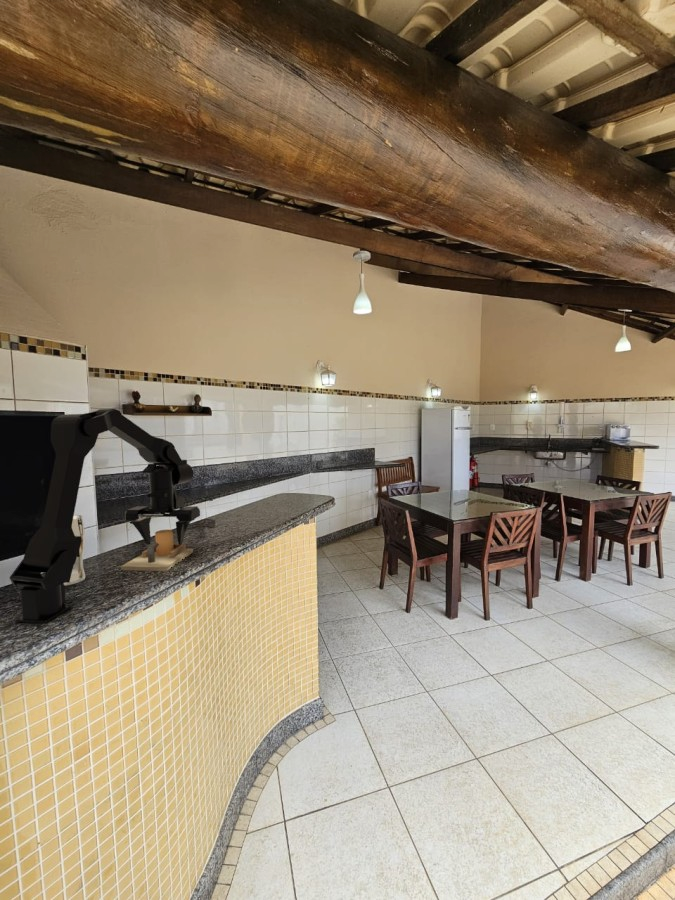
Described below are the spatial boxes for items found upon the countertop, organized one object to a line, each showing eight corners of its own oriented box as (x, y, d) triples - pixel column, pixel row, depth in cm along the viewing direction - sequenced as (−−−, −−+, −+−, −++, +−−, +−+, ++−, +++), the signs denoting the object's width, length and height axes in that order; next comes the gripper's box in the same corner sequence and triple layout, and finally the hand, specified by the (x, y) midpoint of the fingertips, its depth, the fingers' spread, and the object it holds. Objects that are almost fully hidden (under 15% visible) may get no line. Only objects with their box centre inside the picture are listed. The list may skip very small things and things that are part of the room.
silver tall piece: (69, 587, 89) (65, 522, 88) (44, 585, 90) (39, 521, 89) (94, 575, 96) (90, 514, 95) (70, 574, 97) (66, 514, 96)
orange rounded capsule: (168, 555, 106) (167, 533, 106) (152, 555, 106) (151, 533, 106) (176, 550, 110) (175, 529, 110) (161, 550, 111) (160, 529, 110)
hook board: (166, 570, 98) (165, 550, 97) (121, 570, 99) (120, 550, 99) (192, 552, 112) (192, 534, 111) (152, 551, 113) (151, 534, 113)
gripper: (207, 483, 114) (209, 536, 115) (146, 483, 116) (149, 535, 117) (189, 489, 103) (191, 548, 104) (121, 490, 105) (125, 547, 106)
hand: (164, 544), depth 108 cm, fingers open, 9 cm apart
